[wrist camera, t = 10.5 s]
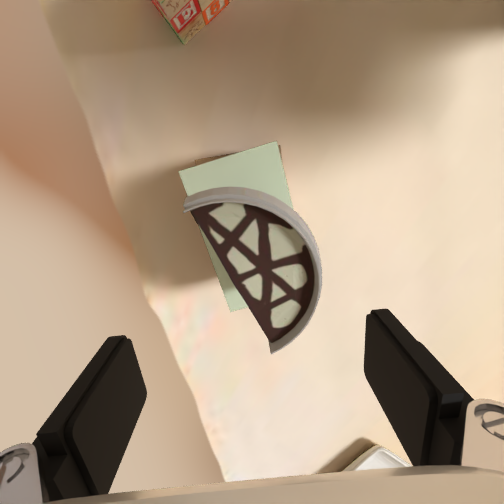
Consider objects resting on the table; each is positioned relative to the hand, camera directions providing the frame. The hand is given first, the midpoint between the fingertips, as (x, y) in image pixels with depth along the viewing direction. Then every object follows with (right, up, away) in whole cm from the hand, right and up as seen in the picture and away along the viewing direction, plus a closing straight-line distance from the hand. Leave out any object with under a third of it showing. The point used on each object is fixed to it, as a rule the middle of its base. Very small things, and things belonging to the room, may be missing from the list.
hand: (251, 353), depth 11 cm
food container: (+1, +6, +16) cm, 17 cm away
